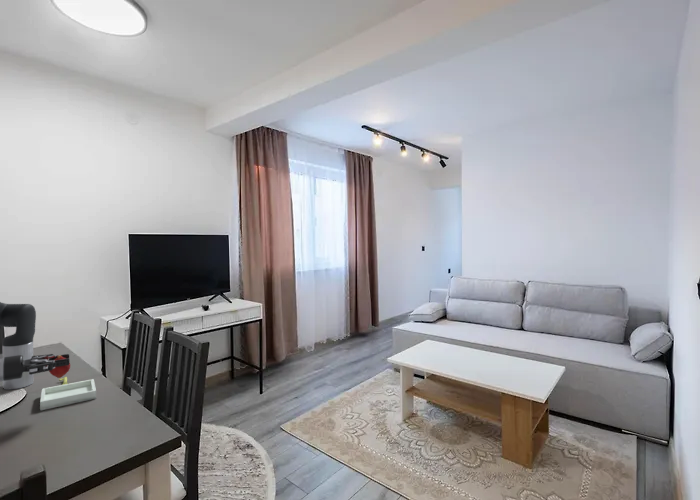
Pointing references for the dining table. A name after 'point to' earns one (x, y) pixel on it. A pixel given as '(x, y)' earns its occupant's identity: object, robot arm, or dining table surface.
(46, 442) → the dining table surface
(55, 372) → the onion
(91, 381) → the tray
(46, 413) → the dining table surface
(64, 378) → the key
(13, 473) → the dining table surface
